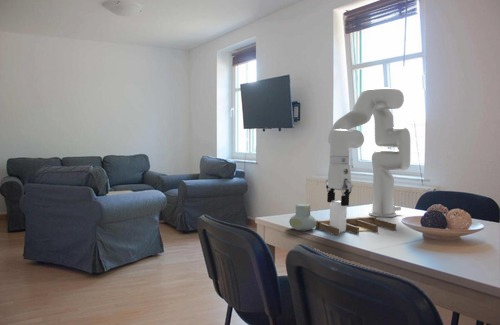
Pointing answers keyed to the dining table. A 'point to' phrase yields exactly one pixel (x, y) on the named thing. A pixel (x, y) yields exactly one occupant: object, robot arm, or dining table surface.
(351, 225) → the notch rack
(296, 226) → the air freshener
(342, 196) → the robot arm
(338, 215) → the can
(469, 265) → the dining table surface
